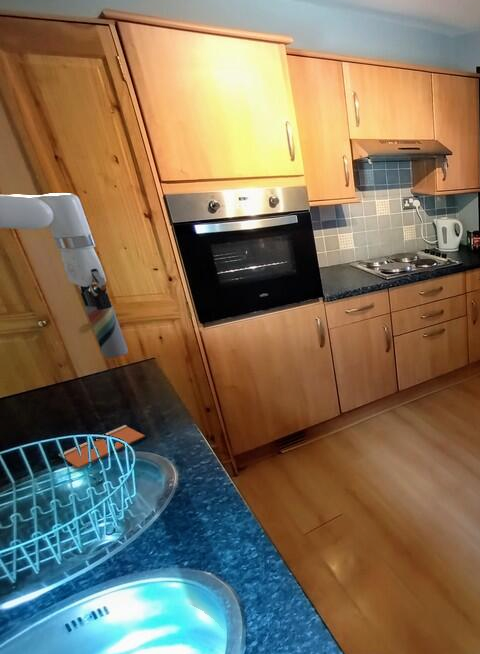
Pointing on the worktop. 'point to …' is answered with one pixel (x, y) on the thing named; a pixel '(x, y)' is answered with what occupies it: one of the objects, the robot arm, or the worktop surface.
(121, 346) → the lotion bottle
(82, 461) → the orange flat block
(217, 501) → the worktop surface
